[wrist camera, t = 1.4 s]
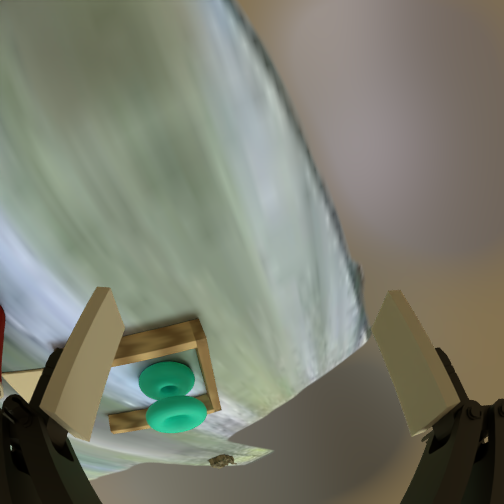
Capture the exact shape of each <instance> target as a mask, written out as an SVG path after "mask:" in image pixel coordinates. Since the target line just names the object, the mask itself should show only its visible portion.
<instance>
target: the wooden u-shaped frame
mask: <svg viewBox="0 0 504 504" xmlns="http://www.w3.org/2000/svg"><path fill="white" fill-rule="evenodd" d="M193 348H195V349H196V353H197V357H198V361H199V364H200V368H201V372H202V376H203V379H204V383H205V386H206V390H207V393H208V394H205V395H201V396H198V397H194V398H196V399H198V400H200V401H201V402H202V403H203V404H204V405H205V407H206V409H207V414H210V413H213V412H217V411H220V410H221V406H220V401H219V397H218V392H217V388H216V383H215V379H214V374H213V369H212V364H211V360H210V355H209V349H208V344H207V339H206V336H205V333H204V331H203V328H202V326H201V323H200V321H199V319H195V320H191V321H187V322H183V323H179V324H175V325H171V326H167V327H163V328H158V329H154V330H150V331H145V332H141V333H137V334H132V335H127V336H123V337H122V338H121V340H120V343H119V346H118V349H117V351H116V354H115V357H114V360H113V363H112V366H111V367H114V366H120V365H125V364H129V363H134V362H139V361H144V360H148V359H152V358H157V357H161V356H165V355H169V354H173V353H177V352H181V351H185V350H189V349H193ZM61 349H64V348H61ZM55 350H56V349H55ZM55 350H54V351H55ZM147 410H148V408H147V409H142V410H137V411H131V412H126V413H120V414H113V415H108V417H109V424H110V430H111V432H112V433H113V434H116V433H123V432H130V431H136V430H141V429H147V428H151V427H150V426H149V425H148V423H147V421H146V412H147Z"/></svg>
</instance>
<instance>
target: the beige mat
mask: <svg viewBox="0 0 504 504" xmlns="http://www.w3.org/2000/svg"><path fill="white" fill-rule="evenodd" d="M42 371H43V369H36V370H28V371H18V372H8V373H2V376H3V377H4V379H5V380H6V381H7V382H8V383H9V384H10V385H11V386H12V387H13V388H14V389H15V390H16V391H17V392H18V393H19V394H20V395H21V396H22V397H23V398H24V399H25V400H26V401H27V402H28V403H29V402H30V400H31V397H32V395H33V392H34V390H35V388H36V385H37V383H38V380H39V378H40V376H41V375H42Z"/></svg>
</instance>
